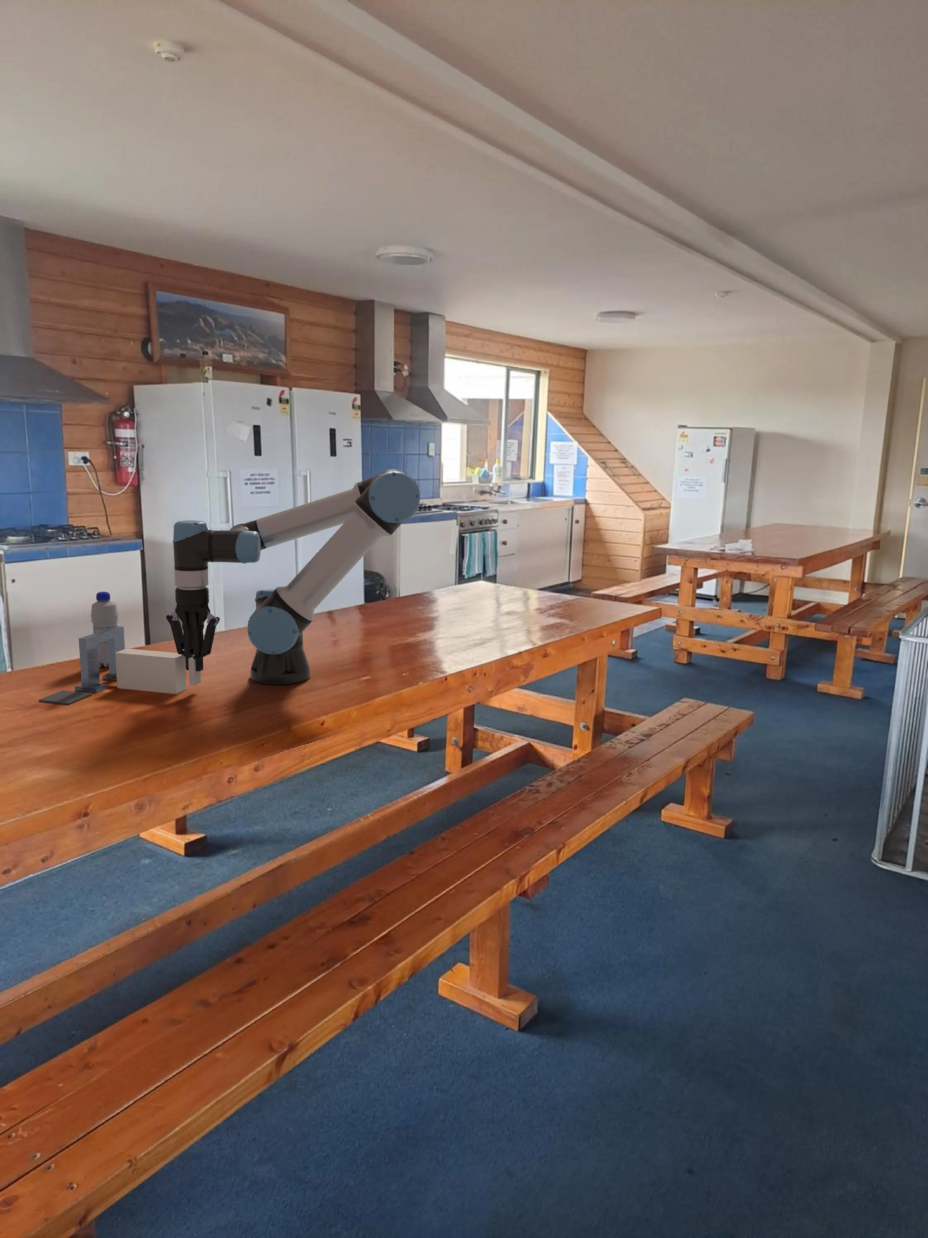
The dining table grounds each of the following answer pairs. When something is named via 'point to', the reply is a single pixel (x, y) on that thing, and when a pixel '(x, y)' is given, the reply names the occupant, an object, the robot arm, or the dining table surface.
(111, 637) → the blue-grey arch stand
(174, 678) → the white block
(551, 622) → the dining table surface
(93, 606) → the bottle
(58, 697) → the mat
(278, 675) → the robot arm
